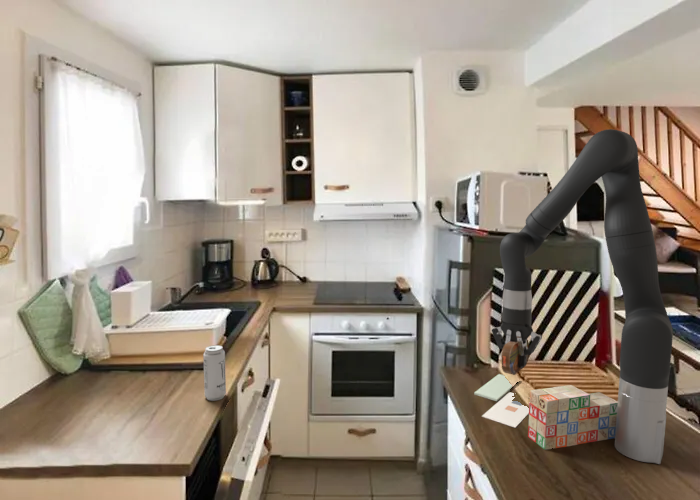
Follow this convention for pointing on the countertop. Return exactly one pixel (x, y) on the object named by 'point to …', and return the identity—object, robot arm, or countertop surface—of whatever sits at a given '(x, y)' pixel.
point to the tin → (512, 357)
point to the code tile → (507, 411)
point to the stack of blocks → (570, 417)
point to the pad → (494, 388)
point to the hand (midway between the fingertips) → (515, 366)
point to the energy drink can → (214, 372)
